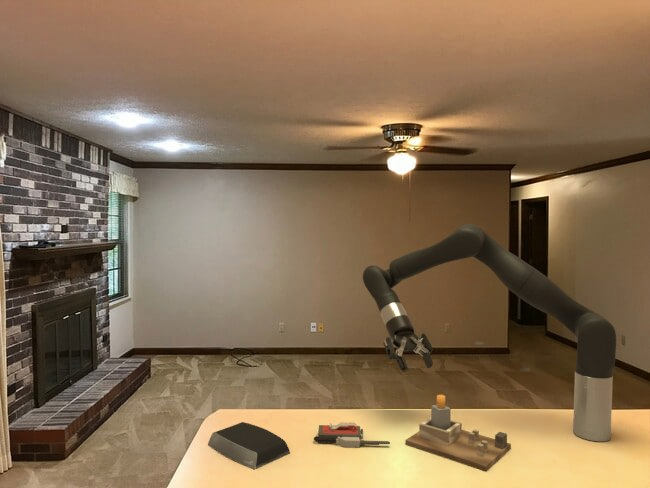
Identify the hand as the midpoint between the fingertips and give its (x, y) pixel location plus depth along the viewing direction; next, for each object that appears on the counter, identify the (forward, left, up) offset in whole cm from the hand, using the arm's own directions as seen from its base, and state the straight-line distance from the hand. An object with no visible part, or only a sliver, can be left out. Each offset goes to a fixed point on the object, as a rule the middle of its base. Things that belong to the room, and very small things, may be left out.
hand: (418, 368), depth 145 cm
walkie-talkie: (+20, -9, -17) cm, 28 cm away
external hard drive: (+41, -26, -18) cm, 52 cm away
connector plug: (+4, +9, -16) cm, 19 cm away
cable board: (+4, +14, -17) cm, 23 cm away
